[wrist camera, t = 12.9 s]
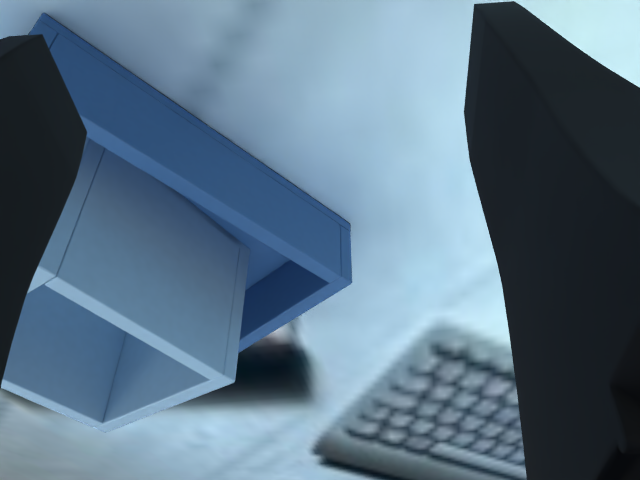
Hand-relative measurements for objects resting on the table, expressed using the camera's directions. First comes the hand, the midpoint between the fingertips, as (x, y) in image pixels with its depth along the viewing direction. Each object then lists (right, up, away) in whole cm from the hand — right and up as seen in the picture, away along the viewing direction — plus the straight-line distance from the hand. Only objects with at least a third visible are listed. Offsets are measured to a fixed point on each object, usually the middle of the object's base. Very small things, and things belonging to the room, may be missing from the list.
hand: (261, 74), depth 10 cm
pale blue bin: (-8, -2, +17) cm, 19 cm away
